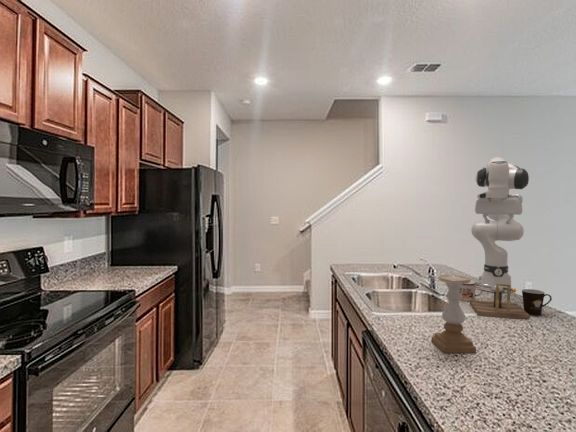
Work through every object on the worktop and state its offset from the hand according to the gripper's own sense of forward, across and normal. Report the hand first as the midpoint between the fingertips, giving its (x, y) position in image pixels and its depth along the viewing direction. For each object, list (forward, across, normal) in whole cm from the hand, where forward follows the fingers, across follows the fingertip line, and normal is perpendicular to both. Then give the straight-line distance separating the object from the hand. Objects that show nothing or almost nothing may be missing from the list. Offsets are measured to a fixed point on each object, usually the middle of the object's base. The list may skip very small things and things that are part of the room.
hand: (497, 223), depth 187 cm
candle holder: (+41, -12, +68) cm, 80 cm away
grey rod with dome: (+30, -3, +9) cm, 32 cm away
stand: (+40, -4, +10) cm, 41 cm away
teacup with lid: (+39, +14, -2) cm, 42 cm away
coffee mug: (+40, -17, +1) cm, 43 cm away
